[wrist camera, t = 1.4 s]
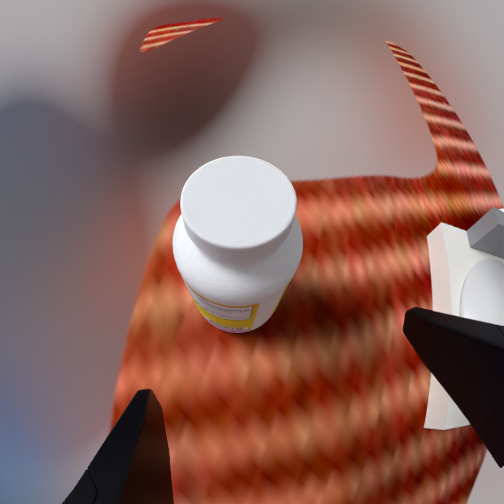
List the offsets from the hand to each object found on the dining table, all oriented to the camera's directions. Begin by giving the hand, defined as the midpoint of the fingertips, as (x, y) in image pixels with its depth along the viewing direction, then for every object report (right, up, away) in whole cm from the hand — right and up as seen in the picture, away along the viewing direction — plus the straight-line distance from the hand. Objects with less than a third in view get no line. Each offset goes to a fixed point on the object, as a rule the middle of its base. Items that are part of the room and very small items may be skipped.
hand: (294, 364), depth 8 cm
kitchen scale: (+24, -5, +14) cm, 28 cm away
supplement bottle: (-3, 0, +14) cm, 15 cm away
